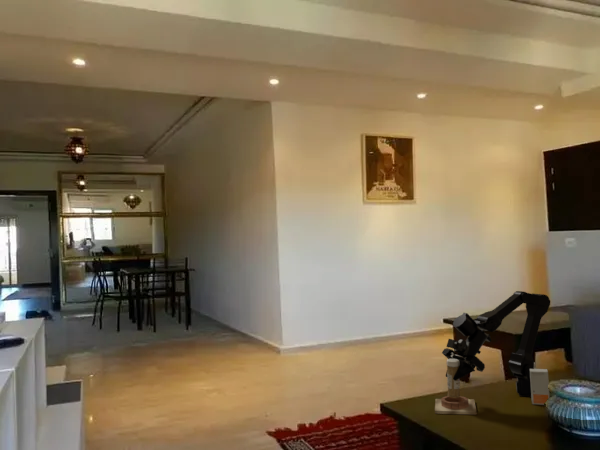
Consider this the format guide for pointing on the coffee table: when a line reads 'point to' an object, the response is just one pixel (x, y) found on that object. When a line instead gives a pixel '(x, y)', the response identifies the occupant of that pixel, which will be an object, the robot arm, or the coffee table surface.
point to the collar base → (455, 405)
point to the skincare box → (539, 386)
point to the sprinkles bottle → (452, 384)
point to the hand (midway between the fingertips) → (450, 378)
